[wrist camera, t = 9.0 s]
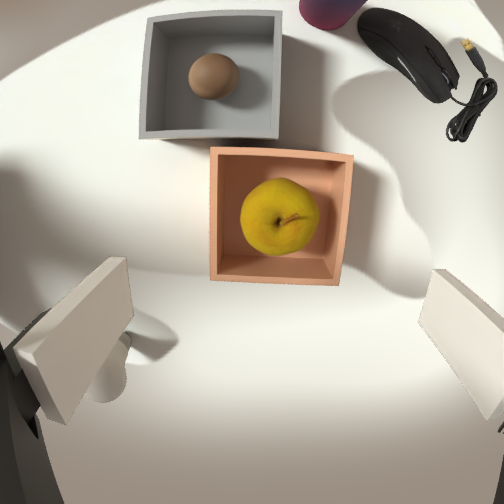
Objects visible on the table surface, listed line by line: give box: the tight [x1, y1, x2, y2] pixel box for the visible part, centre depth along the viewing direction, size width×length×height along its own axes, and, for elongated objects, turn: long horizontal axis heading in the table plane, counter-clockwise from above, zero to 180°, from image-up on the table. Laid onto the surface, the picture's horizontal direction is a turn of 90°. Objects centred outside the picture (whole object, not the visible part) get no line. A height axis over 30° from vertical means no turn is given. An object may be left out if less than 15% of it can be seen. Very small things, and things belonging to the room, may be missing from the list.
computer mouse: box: [358, 8, 497, 142], centre depth 22 cm, size 12×18×4 cm
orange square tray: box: [210, 147, 354, 286], centre depth 27 cm, size 11×11×6 cm
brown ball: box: [189, 53, 239, 100], centre depth 23 cm, size 4×4×4 cm
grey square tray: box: [139, 10, 282, 140], centre depth 23 cm, size 11×11×6 cm
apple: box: [240, 177, 320, 256], centre depth 25 cm, size 6×6×8 cm
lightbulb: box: [84, 332, 132, 403], centre depth 30 cm, size 6×6×11 cm
